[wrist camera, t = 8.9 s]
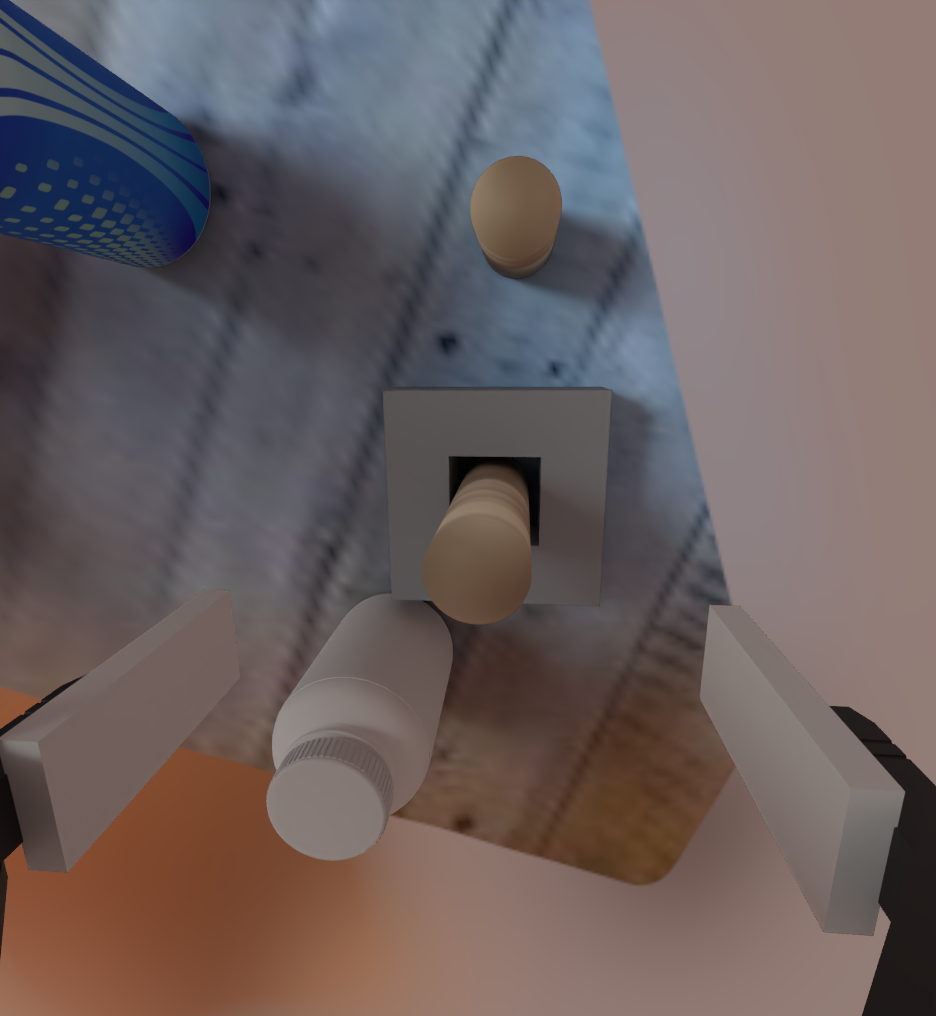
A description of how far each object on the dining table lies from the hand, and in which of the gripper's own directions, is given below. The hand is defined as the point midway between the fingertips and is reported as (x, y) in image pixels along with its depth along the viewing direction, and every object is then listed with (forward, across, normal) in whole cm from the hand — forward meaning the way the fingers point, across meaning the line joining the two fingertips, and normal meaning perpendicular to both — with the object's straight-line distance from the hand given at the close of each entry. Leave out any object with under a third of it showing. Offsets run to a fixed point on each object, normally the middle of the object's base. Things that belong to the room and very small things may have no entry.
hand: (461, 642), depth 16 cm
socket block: (+20, 0, 0) cm, 20 cm away
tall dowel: (+20, 0, 0) cm, 20 cm away
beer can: (+21, -20, +17) cm, 33 cm away
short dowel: (+20, +1, +14) cm, 25 cm away
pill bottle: (+21, -6, -11) cm, 24 cm away
